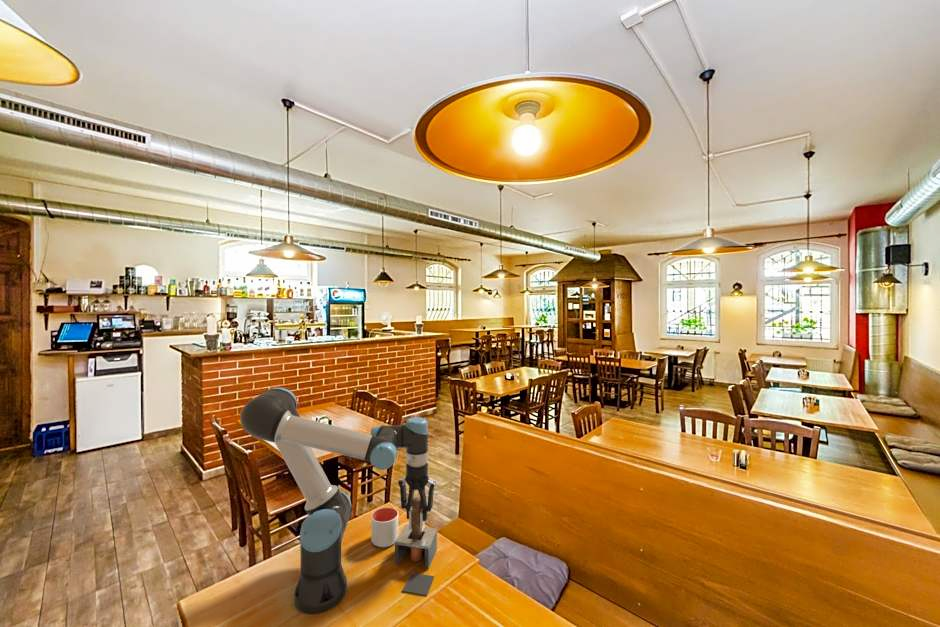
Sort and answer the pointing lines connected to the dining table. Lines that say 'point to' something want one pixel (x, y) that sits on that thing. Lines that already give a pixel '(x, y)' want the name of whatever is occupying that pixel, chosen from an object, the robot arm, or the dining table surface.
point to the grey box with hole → (416, 544)
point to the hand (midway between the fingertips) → (416, 528)
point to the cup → (384, 527)
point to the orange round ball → (416, 553)
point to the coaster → (418, 584)
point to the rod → (416, 519)
